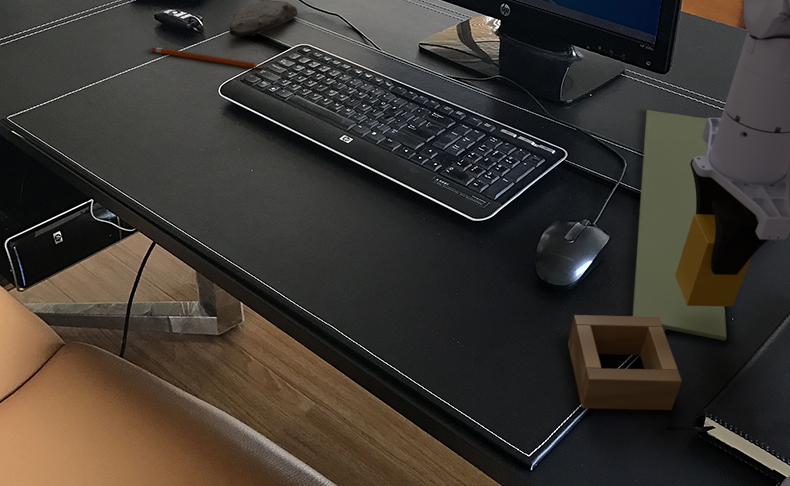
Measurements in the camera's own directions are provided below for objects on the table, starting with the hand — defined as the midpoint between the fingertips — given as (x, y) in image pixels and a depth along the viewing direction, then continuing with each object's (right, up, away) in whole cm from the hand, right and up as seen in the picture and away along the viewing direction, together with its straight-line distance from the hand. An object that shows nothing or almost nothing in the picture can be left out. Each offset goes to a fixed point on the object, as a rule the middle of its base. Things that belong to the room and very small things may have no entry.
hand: (715, 254), depth 67 cm
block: (0, -3, +3) cm, 4 cm away
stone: (-48, +34, +53) cm, 79 cm away
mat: (+3, +5, +18) cm, 19 cm away
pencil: (-54, +27, +44) cm, 75 cm away
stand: (-9, -10, -2) cm, 14 cm away
